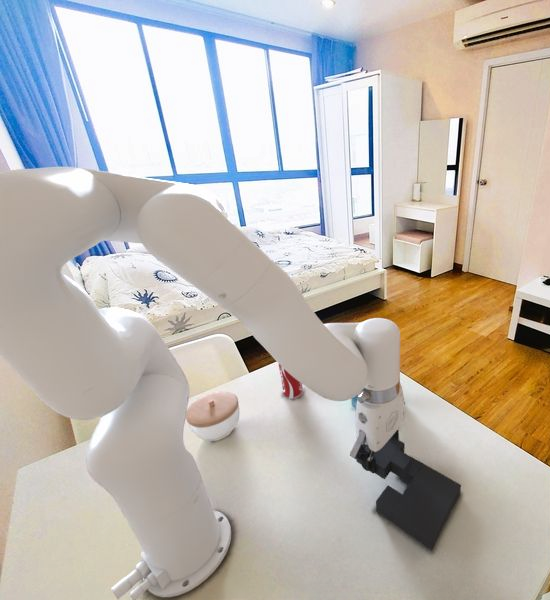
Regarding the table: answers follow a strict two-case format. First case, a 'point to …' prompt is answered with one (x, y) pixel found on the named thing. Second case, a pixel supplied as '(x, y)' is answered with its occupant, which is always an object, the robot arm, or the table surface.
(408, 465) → the small pad
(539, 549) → the table surface
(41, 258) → the robot arm
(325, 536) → the table surface
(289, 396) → the soda can
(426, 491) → the large pad
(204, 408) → the trinket box
